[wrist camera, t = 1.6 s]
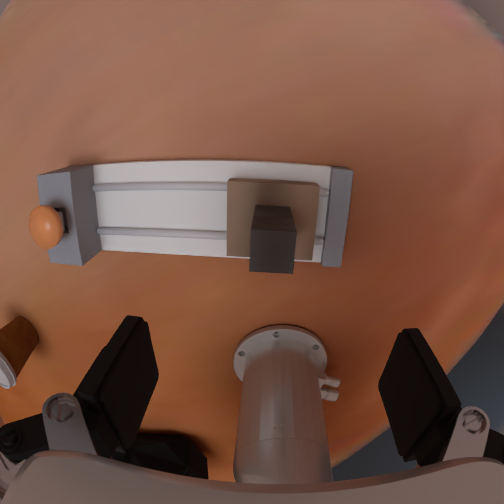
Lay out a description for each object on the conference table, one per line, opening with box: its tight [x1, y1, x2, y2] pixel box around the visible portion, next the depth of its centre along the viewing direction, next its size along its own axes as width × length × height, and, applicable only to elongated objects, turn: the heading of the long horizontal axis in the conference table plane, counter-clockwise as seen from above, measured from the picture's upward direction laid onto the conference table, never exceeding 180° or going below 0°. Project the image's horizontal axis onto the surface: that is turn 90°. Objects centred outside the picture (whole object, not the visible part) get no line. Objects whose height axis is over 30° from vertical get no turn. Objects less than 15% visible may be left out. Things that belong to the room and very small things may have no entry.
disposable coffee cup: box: [0, 316, 39, 389], centre depth 35 cm, size 10×10×12 cm
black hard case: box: [112, 433, 208, 479], centre depth 41 cm, size 30×12×20 cm, turn 108°
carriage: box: [227, 178, 320, 274], centre depth 24 cm, size 8×7×9 cm
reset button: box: [29, 205, 65, 249], centre depth 24 cm, size 4×4×2 cm
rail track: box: [37, 159, 353, 267], centre depth 28 cm, size 32×10×6 cm, turn 88°
